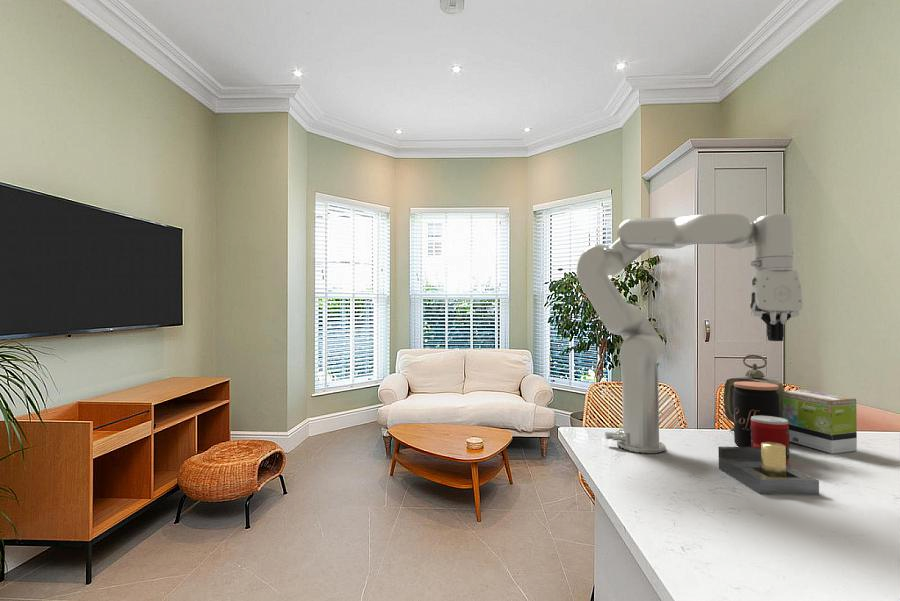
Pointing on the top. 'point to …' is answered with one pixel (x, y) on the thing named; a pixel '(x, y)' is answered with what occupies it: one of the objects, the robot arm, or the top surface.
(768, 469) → the pale yellow cylinder
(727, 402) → the tabletop clock
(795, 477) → the frame
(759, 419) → the canned food
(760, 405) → the coffee jar
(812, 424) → the tea box
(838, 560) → the top surface
